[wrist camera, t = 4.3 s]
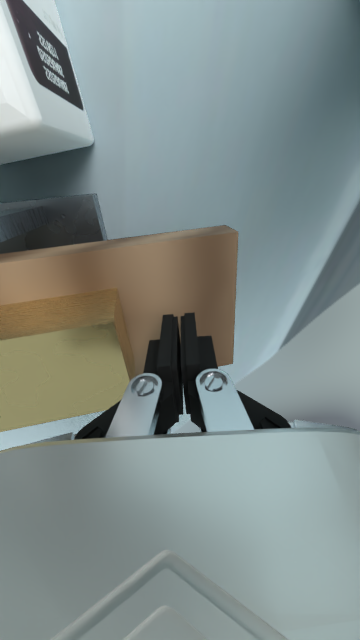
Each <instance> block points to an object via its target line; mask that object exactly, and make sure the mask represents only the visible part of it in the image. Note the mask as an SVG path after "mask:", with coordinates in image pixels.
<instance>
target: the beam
mask: <svg viewBox="0 0 360 640" xmlns="http://www.w3.org/2000/svg"><path fill="white" fill-rule="evenodd" d="M237 252H238V231H236V230H234V229H232V228H230V227H228V226H226V225H222V226H214V227H207V228H199V229H191V230H183V231H176V232H168V233H160V234H152V235H144V236H137V237H129V238H121V239H113V240H106V241H98V242H90V243H82V244H74V245H67V246H59V247H51V248H43V249H36V250H28V251H20V252H12V253H4V254H0V305H6V304H13V303H19V302H26V301H33V300H39V299H46V298H52V297H59V296H66V295H72V294H79V293H86V292H92V291H99V290H105V289H112V288H117V290H118V294H119V298H120V302H121V306H122V310H123V314H124V318H125V322H126V327H127V331H128V335H129V339H130V343H131V347H132V351H133V355H134V359H135V377H136V376H138V375H140V374H143V371H144V366H145V360H146V355H147V350H148V344H149V340H157V339H160V334H161V326H162V317H163V315H167V314H173V315H174V317H176V316H177V317H178V325H179V334H180V343H181V316H184V313H193V312H195V321H196V330H197V336H210V335H211V336H212V341H213V346H214V351H215V356H216V361H217V367H218V366H223V365H229V364H233V347H234V324H235V300H236V276H237Z"/></svg>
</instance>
